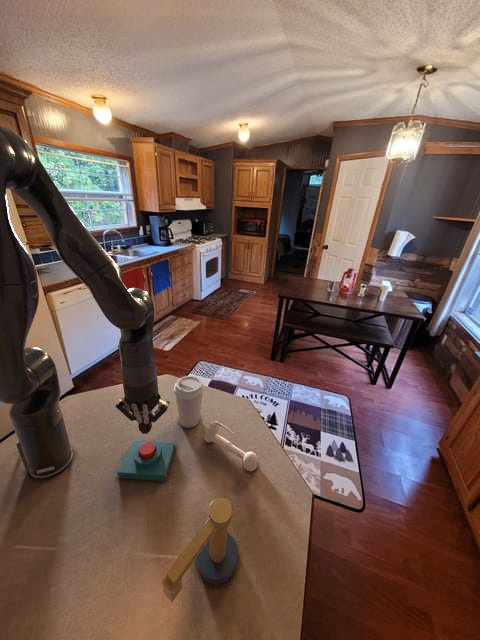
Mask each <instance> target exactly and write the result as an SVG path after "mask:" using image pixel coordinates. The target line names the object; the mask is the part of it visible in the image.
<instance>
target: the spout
mask: <svg viewBox="0 0 480 640" xmlns="http://www.w3.org/2000/svg"><path fill="white" fill-rule="evenodd" d="M232 516H233V506H232V504H231V503H230V501H229V500H228V499H226V498H224V497H218V498H216V499H214V500H212V502H211V503H210V504H209V507H208V519H207V520H206V521H205V522H204V524H203V525H202V527H201V528H200V529H199V530H198V531H197V533H196V534H195V535H194V537H193V538H191V540H190V542H189V543H188V544H187V546H185V548H184V549H183V550H182V552H181V553H180V554H179V556H177V558H176V560H175V561H174V562H173V563H172V565H171V566H170V567H169V568H168V570H167V571H166V572H165V577H164V578H163V579H162V583H161V584H162V592H163V593H164V595H165V596H166V597H167V598H168V600H169V601H170V603H171V604H172V603H173V602H174V601H175V599H176V598H177V597H178V595H180V592H181V591H182V589H183V577H184V576H185V574H186V573H187V571H188V570H189V569H190V567H191V566H192V565H193V563H194V562H195V560H196V559H197V556H198V555H199V554H200V552H201V551H202V549H203V548H204V547H205V545H206V544H207V543H208V541H209V540H210V539H211V537H212V536H213V534H214V533H215V532H216V531H224V530H226V529H227V528H228V529H229V527H230V525H231V524H232V518H233V517H232Z"/></svg>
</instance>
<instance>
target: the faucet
mask: <svg viewBox="0 0 480 640" xmlns="http://www.w3.org/2000/svg"><path fill="white" fill-rule="evenodd" d="M221 428H223V429H225V430H226V431H228V432H229V433H230V434H232V435H233V436H234V435H236V433H235V432H234V431H232V430H231V429H230V428H229V427H227V426H226V425H225V424H223V423H222V422H220V421H217V420H214V421H212V422H210V424H209V426H208V428H207V429H206V431H205V433H204V435H203V439H204V441H205V442H207V443H213V444H216V445H217V446H219V447H220V448H221V449H223V450H225V451H228V452H229V453H231V454H233V455H235V456H237V457H238V458H240V459H242V460H243V467H244V469H245V470H246V471H247V472H253V471H255V470H256V469H257V466H258V461H259V458H258V456H257V453H255V452H254V451H247V452H245V451H244V450H242V449H240V448H239V447H238V446H236V445H234V444H232V442H231V441H230V440H228V439H226V438H225V437H223V436H221V435H219V434H218V432H219V430H220V429H221Z"/></svg>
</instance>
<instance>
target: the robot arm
mask: <svg viewBox="0 0 480 640" xmlns="http://www.w3.org/2000/svg"><path fill="white" fill-rule="evenodd" d="M7 190H10V191H11V192H12V193H13V194H14V195H16V196H17V197H18V198H19V199H20V200H21V201H23V202H24V203H25V204H26V205H27V206H28V207H29V208H30V209H31V210H32V211H33V212H34V214H35V215H36V217H38V219H39V220H40V222H41V224H42V225H43V228H44V230H45V231H46V233H47V235H48V238H49V240H50V242H51V244H52V247H53V249H54V251H55V252H56V255H58V257H59V258H60V259H61V261H62V263H64V265H66V267H67V268H68V269H69V270H70V271H71V272H72V273H73V274H74V275H75V276H76V277H77V279H78V280H79V281H80V282H81V283H82V284H83V285H84V286H85V287H86V288H87V289H88V290H89V292H90V294H91V295H92V297H93V299H94V301H95V303H96V304H97V306H98V307H99V309H100V311H101V312H102V314H103V315H104V317H105V318H106V320H108V322H109V323H110V324H112V325H113V326H114V327H115V328H117V329H119V330H121V331H122V332H121V335H120V338H119V340H118V353H119V357H120V374H121V381H122V389H123V395H124V396H123V397H120V398H119V400H118V401H117V403H116V404H115V408H116V409H117V410H118V411H119V412H120V413H121V414H122V415H123V416H125V417H126V418H127V419H128V420H129V421H131V422H135V421H136V423H137V424H138V430H139V432H140V433H141V435H142V434H143V435H148V434H149V433H150V432H151V430H152V427H153V423H156V422H157V421H158V420H159V419H160V418H161V417H162V416H163V415H164V414H165V413H166V412H167V411H168V408H169V406H170V404H171V403H170V402H171V401H169V400H165V401H164V400H163V399H162V397H161V395H160V393H159V381H158V369H157V362H156V358H155V347H154V341H153V338H154V337H153V335H154V325H155V306H154V305H155V304H154V301H153V298H152V296H151V295H150V294H149V293H148V292H147V291H146V290H145V289H142V288H139V287H131V288H127V286H126V285H125V283H124V282H123V280H122V276H123V272H122V270H121V268H120V266H119V264H117V262H116V261H115V259H113V257H112V256H111V255H110V254H109V253H108V251H106V249H105V248H104V247H103V246H102V245H101V244H100V242H99V241H98V240H97V239H96V238H95V237H94V235H93V234H92V233H91V232H90V230H89V229H88V228H87V227H86V226H85V225H84V223H83V222H82V221H81V219H80V218H79V216H78V215H77V214H76V212H75V210H74V209H73V208H72V207H71V205H70V204H69V202H68V201H67V200H66V198H65V196H64V195H63V193H62V191H60V189H59V188H58V186H57V184H56V183H55V182H54V180H53V178H52V177H51V176H50V174H49V172H48V170H47V168H45V166H44V164H43V163H42V161H41V160H40V158H39V157H38V155H37V154H36V152H35V151H34V150H33V149H32V147H31V145H30V144H29V143H28V141H26V140H25V139H24V138H23V137H22V136H21V135H19V133H17V132H15V131H13V130H11V129H10V128H8V127H5V126H3V125H0V403H2V404H6V405H11V406H10V408H9V411H8V416H9V419H10V421H11V423H12V427H13V429H14V432H15V435H16V438H17V441H18V442H17V444H16V448H17V450H18V453H19V456H20V459H21V462H22V464H23V467H24V468H25V472H26V473H29V474H30V476H31V477H32V478H34V479H37V480H42V479H43V480H44V479H49V478H52V477H53V476H56V475H58V474H59V473H61V472H62V471H64V470H65V469H67V467H68V466H69V465H70V463H72V460H73V457H74V451H73V448H72V445H71V442H70V438H69V434H68V431H67V427H66V423H65V419H64V415H63V412H62V408H61V404H60V398H61V385H60V381H59V375H58V371H57V367H56V363H55V362H54V360H53V358H52V357H51V356H50V354H48V353H47V352H46V351H45V350H44V349H41V348H39V347H35V346H34V347H33V346H29V347H26V344H27V338H28V335H29V333H30V330H31V327H32V325H33V322H34V320H35V317H36V315H37V311H38V307H39V303H40V289H39V278H38V272H37V267H36V264H35V262H34V260H33V259H32V257H31V255H30V254H29V252H28V251H27V249H26V247H25V246H24V244H23V243H22V242H21V240H20V239H19V238H18V235H17V234H16V232H15V231H14V228H13V225H12V223H11V220H10V219H11V218H10V214H9V207H8V200H7V199H8V198H7ZM156 406H157V409H155V408H156ZM154 409H155V411H154V412H153V410H154Z"/></svg>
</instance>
